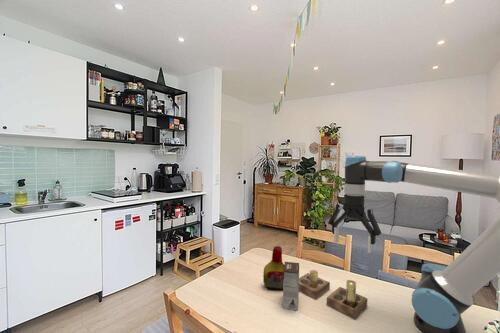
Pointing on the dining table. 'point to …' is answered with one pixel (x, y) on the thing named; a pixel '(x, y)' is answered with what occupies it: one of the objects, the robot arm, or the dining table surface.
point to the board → (313, 290)
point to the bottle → (274, 270)
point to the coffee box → (291, 285)
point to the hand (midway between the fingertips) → (352, 246)
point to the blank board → (339, 303)
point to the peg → (350, 293)
